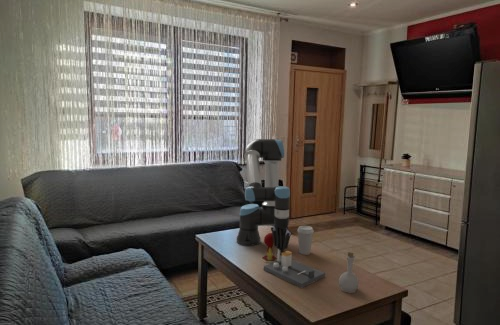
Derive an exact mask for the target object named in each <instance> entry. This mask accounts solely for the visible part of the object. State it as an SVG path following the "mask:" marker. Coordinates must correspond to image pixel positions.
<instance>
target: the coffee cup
mask: <svg viewBox="0 0 500 325" xmlns="http://www.w3.org/2000/svg"><path fill="white" fill-rule="evenodd" d="M296 231H297V237H298V238H297V239H298V253H299V254H300V255H305V256H306V255H310V254H311V250H312V249H311V248H312V243H313V242H312V240H313V234H314V233H315V231H314V228H313V227H312V226H310V225H300V226H298V228H297V230H296Z"/></svg>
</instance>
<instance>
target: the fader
mask: <svg viewBox="0 0 500 325" xmlns="http://www.w3.org/2000/svg"><path fill="white" fill-rule="evenodd" d="M281 255H282V261H281V266H286V267H289V266H291V263H292V260H293V259H292V258H293V252H292V251H289V250H286V251H285V250H284V252H282V254H281Z"/></svg>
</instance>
